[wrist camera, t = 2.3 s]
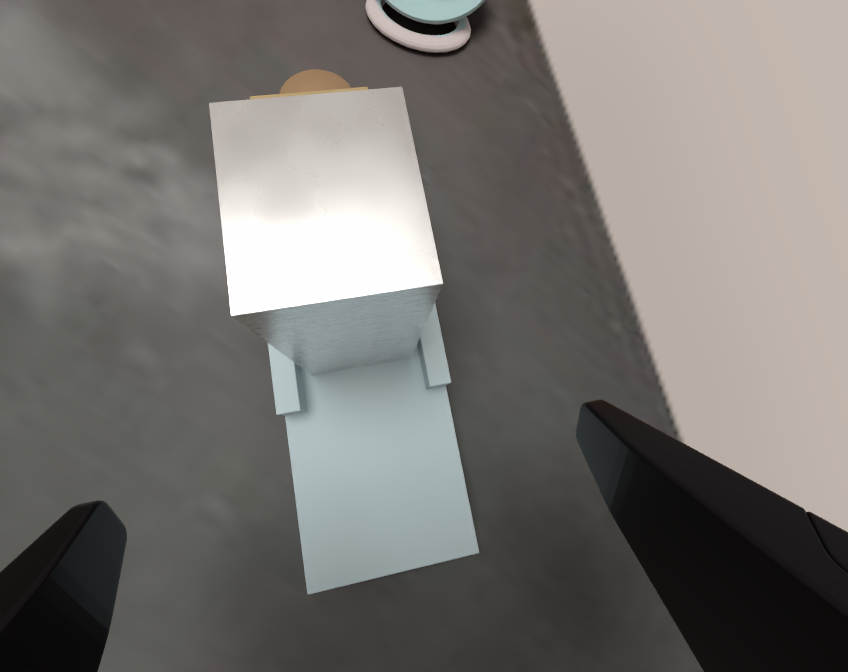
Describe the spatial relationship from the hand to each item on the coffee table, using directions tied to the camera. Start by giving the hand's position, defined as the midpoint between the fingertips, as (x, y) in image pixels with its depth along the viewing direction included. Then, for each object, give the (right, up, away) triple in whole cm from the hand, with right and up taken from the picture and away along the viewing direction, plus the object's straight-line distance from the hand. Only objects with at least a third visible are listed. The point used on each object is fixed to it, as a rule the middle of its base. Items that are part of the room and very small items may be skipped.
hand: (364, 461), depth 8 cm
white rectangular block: (-2, +3, +11) cm, 12 cm away
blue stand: (-2, +3, +13) cm, 13 cm away
